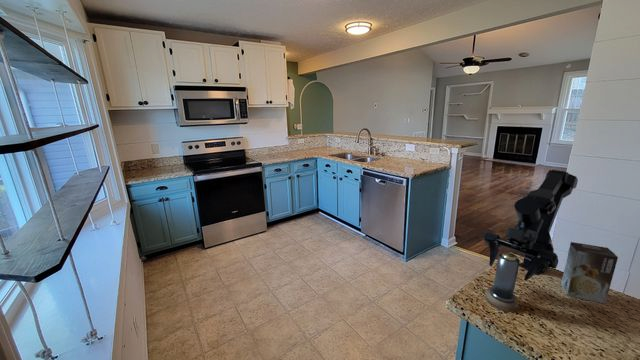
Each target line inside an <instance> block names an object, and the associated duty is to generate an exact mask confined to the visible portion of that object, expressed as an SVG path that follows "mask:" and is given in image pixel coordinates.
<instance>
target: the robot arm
mask: <svg viewBox="0 0 640 360" xmlns="http://www.w3.org/2000/svg"><path fill="white" fill-rule="evenodd" d="M578 180H579V179H578V177H577V176H576V175H573V174H571V173H569V172H568V171H566V170H558V169H549V170H548V171H547V172H546V174H545V178H544V179H543V181H542V183H541V184H540V186H539V187H538V188H537V189H535V190H533V189H532V190H531V191H529V192H527V194H526V195H524V196H523V197H522V198H520V199H518V200H517V201H515V203H514V206H513V207H514V210H515V213H516V217H517V219H518V221H517V223H516V225H514V226H513V227H511V226H508V227H507V230H506V234H505V236H504V237H505V238H506V239H507V240H508V241H507V240H505V239H501V236H500V234H497V233H494V232H491V231H486V232H484V233H483V235H482V237H481V238H482V240H483V241H484V243H485V244H486V245H487V247H488V248H489V265H488V266H489V267H492V266H493V265H494V263H495V261H496V258H498V257H497V256H498V255H499V252H500V249H499V248H500V247H503V248H507V249H510V250H513V251H515V252H519V253H522V254H524V257H523V259H522V260H523V261H522V262H520V263H519V267H521V268H522V269H524V270H526V271H527V272H526V274H525V276H524V279H523V280H524V281H525V282H527V281H528V280H530V279H531V278H532V277H533V276H534V275H538V274H541V273H545V272H548V270H550V268H552V269H554V270H555V269H557V267H558V264H559V258H558V255H557V253H556V252H554V251H555V249H554V246H553V241H552V237H551V234H550V233H551V229H552V227H553V225H554V222H555V220H556V217H557V215H558V212H559V210H560V207H561V205H562V201H563V200H564V199H565V198H567V197H568V196H569V195H571V194H572V193H573V190H574V189H576V188H577V185H578Z"/></svg>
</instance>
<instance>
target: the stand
mask: <svg viewBox="0 0 640 360" xmlns="http://www.w3.org/2000/svg"><path fill="white" fill-rule="evenodd" d="M492 287H493V286H492ZM492 287H491V286H490V287H488V288H487V289H486V291H485V296H484V298H485V300H486V302H487V303H488V304H489V305H490V306H492V307H494V308H496V309H498V310H500V311H505V312H514V311H516V310H518V308H519V298H518V296H517V295H515V301H514V302H512V303H505V302H501V301H499V300H497V299H495V298H494V297H492V296H491V294H490V289H491V288H492Z"/></svg>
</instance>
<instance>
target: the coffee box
mask: <svg viewBox="0 0 640 360" xmlns="http://www.w3.org/2000/svg"><path fill="white" fill-rule="evenodd" d="M566 257H567V258H566V262H565V267H564V269H563V275H562V278H561V283H560V285H561V287H562V289H563V290H564V292H565V294H566V295H567V296H568V297H573V298H577V299H582V300H587V301H591V302H595V303H600V304H606V302H607V299H608V295H609V291H610V288H611V284H612V281H613V278H614V277H613V276H614V274H615V269H616V266H617V263H618V259H619V257H618V256H617V255H616V254H615V252H613V251H612V250H611V249H610V248H609V247H607V246H606V247H604V246H599V245H593V244H586V243H580V242H574V241H570V244H569V248H568V252H567V256H566Z"/></svg>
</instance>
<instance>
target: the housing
mask: <svg viewBox="0 0 640 360" xmlns="http://www.w3.org/2000/svg"><path fill="white" fill-rule="evenodd" d="M497 256H498V257H497V264H496V268H495V274H494V275H495V276H494V280H493V286H492V288H491V289H490V294H491V296H492V297H494V298H495V299H497V300H499V301H501V302H505V303H512V302H514V301H515V296H516V295H515V294H514V293H515V288H516V283H517V278H518V272H519V267H520V266H519V263H521V261H520V259H519V258H518V256H517V255H516V254H514V253H511V252H508V251H507V252H505V251H504V252H502V253H500V254H498V255H497Z"/></svg>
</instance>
